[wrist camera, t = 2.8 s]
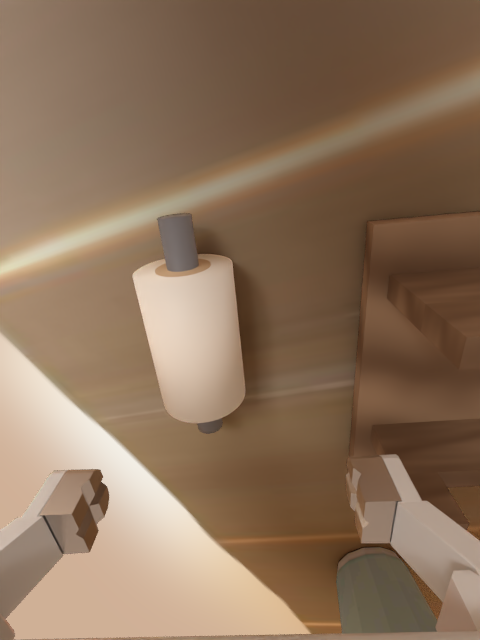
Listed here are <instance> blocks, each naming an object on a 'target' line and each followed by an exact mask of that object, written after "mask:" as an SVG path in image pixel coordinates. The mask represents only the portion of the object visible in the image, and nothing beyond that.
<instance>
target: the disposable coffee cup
mask: <svg viewBox="0 0 480 640" xmlns="http://www.w3.org/2000/svg"><path fill="white" fill-rule="evenodd" d="M336 583H337V592H338V601H339V610H340V619H341V628H342V634H346V633H401V632H437V630H436V628H435V627H436V624H437V619H436V617H435V616H434V614H433V612H432V610H431V608H430V607H429V605H428V603H427V601H426V600H425V598H424V596H423V594H422V593H421V591H420V589H419V587H418V586H417V584H416V582H415V580H414V579H413V577H412V575H411V573H410V571H409V570H408V568H407V567H406V565H405V564H404V563H403V562H402V560H401V559H400V558H399V557H398V556H397V555H396V553H395V552H394V551H391V550H388V549H385V548H382V547H371V548H362V549H359V550H356V551H354V552H351V553H348V554H347V555H346V556H345V557H344V558H343V559H342V560H341V561H340V562H339V563H338V571H337V580H336Z"/></svg>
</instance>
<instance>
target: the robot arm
mask: <svg viewBox="0 0 480 640" xmlns="http://www.w3.org/2000/svg"><path fill="white" fill-rule="evenodd" d="M346 466H347V469H348V473H347V474H346V478H345V484H346V493H347V497H348V501H349V505H350V507H351V508H352V509H353V510H354V511H355V520H354V521H355V525H356V528H357V531H358V534H359V538H360V541H361V543H391V546H392V547H393V548H394V549H395V550H396V551H397V552H398V554H399V555H400V556H401V557H402V558H403V559H404V560H405V561H406V562H407V563H408V565H409V566H410V567H411V568H412V569H413V570H414V571H415V572H416V573H417V574H418V576H419V577H420V578H421V579H422V580H423V581H424V582H425V583H426V584H427V586H428V587H429V588H430V589H431V590H432V591H433V592H434V593H435V594H436V595H437V597H438V598H439V599H440V600H441V601H442V602H443V605H442V608H441V611H440V614H439V617H438V621H437V624H436V627H435V628H436V630H437V632H401V633H346V634H294V635H239V636H237V635H235V636H184V637H182V636H181V637H132V638H130V637H129V638H78V639H77V638H76V639H23V640H480V541H479V540H478V539H477V538H475V537H474V536H473V535H472V534H470V533H469V532H468V531H466V530H465V529H464V528H462V527H461V526H460V525H458V524H457V523H456V522H454V521H453V520H452V519H451V518H449V517H448V516H447V515H445V514H444V513H443V512H441V511H440V510H439V509H437V508H436V507H435V506H433V505H432V504H431V503H430V502H428V501H422V500H421V498H420V496H419V494H418V492H417V490H416V488H415V486H414V484H413V483H412V481H411V479H410V477H409V475H408V473H407V471H406V469H405V467H404V466H403V464H402V462H401V460H400V458H399V456H397V455H396V454H390V455H368V456H352V457H348V458H347V462H346ZM102 478H103V475H102V473H101V471H100V470H98V469H91V470H55V471H53V472H52V473H50V474H49V475H48V477H47V478H46V480H45V482H44V483H43V485H42V486H41V488H40V489H39V491H38V492H37V494H36V495H35V497H34V499H33V500H32V502H31V503H30V505H29V506H28V508H27V509H26V511H25V513H24V514H23V516H22V517H17V518H15V519H14V520H13V521H11V522H10V523H9V524H8V525H6V526H5V527H4V528H2V529H1V530H0V640H13V639H14V637H15V633H14V630H13V629H12V627H11V626H10V624H9V623H8V622H7V620H6V618H7V617H8V616H9V615H10V613H11V612H12V611H13V610H14V609H15V608H16V607H17V606H18V605H19V604H20V602H21V601H22V600H23V599H24V598H25V597H26V596H27V595H28V593H29V592H30V591H31V590H32V589H33V588H34V587H35V586H36V585H37V584H38V583H39V582H40V581H41V579H42V578H43V577H44V576H45V575H46V574H47V573H48V572H49V571H50V570H51V568H52V567H53V566H54V565H55V564H56V563H57V562H58V561H59V560H60V559H61V558H62V556H63V554H73V553H88V552H90V550H91V548H92V545H93V543H94V540H95V538H96V536H97V533H98V527H97V523H98V522H99V521H100V520H101V519H103V518H104V516H105V514H106V511H107V508H108V501H109V492H108V488H107V486H106V485H104V484H103V483H102V482H101V480H102Z"/></svg>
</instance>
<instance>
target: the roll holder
mask: <svg viewBox="0 0 480 640" xmlns="http://www.w3.org/2000/svg"><path fill="white" fill-rule="evenodd" d="M390 454H396V455H397V456H399V458H400V460H401V462H402V464H403V466H404V467H405V469H406V471H407V473H408V475H409V477H410V479H411V481H412V483H413V484H414V486H415V488H416V490H417V492H418V494H419V496H420V498H421V500H422V501H428V502H430V503H431V504H432V505H433V506H435V507H436V508H437V509H439V510H440V511H441V512H443V513H444V514H445V515H447V516H448V517H449V518H451V519H452V520H453V521H454V522H456V523H457V524H458V525H460V526H461V527H462V528H464V529H465V530H466V531H467V528H468V525H469V523H468V521H467V519H466V518H465V516H464V514H463V513H462V511H461V509H460V508H459V506H458V505H457V503H456V501H455V500H454V498H453V496H452V495H451V493H450V492H449V490H448V487H468V486H480V211H476V212H465V213H454V214H442V215H431V216H420V217H409V218H398V219H387V220H376V221H367V231H366V244H365V256H364V269H363V282H362V294H361V307H360V320H359V333H358V345H357V358H356V371H355V383H354V396H353V409H352V421H351V434H350V447H349V457H352V456H368V455H390Z"/></svg>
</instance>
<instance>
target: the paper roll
mask: <svg viewBox="0 0 480 640" xmlns="http://www.w3.org/2000/svg"><path fill="white" fill-rule="evenodd" d="M157 220H158V225H159V230H160V235H161V241H162V246H163V251H164V256H165V259H161V260H158V261H154V262H152V263H149V264H146V265H144V266H142V267H140V268H139V269H137V270H136V271H135V272H134V273H133V281H134V285H135V289H136V293H137V297H138V301H139V305H140V309H141V313H142V317H143V322H144V326H145V330H146V334H147V338H148V342H149V346H150V350H151V354H152V358H153V362H154V366H155V370H156V374H157V378H158V382H159V387H160V391H161V395H162V399H163V403H164V407H165V409H166V411H167V412H168V414H170V415H171V416H172V417H174V418H175V419H177V420H180V421H183V422H188V423H197V425H198V429H199V430H200V431H201V432H203V433H206V434H210V433H214V432H216V431H218V430H219V429H220V428H221V427H222V424H223V422H222V418H223V417H225V416H227V415H229V414H230V413H232V412H233V411H234V410H235V409H237V408H238V407H239V405H240V404H241V403H242V401H243V399H244V397H245V392H246V389H245V379H244V370H243V360H242V350H241V341H240V331H239V321H238V312H237V302H236V292H235V283H234V273H233V263H232V260H231V259H229V258H228V257H225V256H221V255H216V254H197V249H196V242H195V236H194V229H193V222H192V216H191V214H172V215H166V216H162V217H159V218H157Z"/></svg>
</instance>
